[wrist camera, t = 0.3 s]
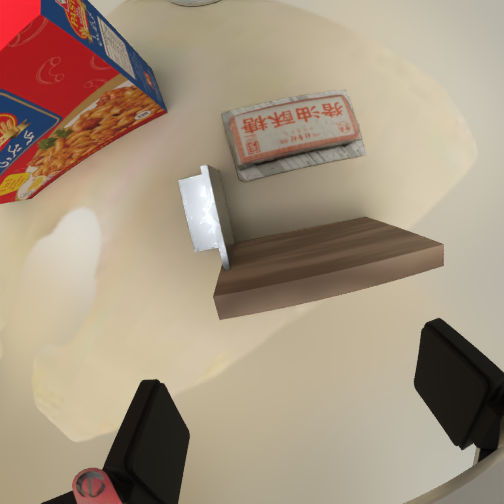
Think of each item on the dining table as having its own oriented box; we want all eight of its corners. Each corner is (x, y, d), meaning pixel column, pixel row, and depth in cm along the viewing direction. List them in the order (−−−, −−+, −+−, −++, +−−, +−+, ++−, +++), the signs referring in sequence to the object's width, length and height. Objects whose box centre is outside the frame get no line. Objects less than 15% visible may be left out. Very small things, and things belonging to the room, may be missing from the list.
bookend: (178, 180, 36) (149, 179, 24) (219, 170, 36) (206, 164, 24) (195, 251, 38) (174, 280, 27) (235, 243, 38) (230, 269, 26)
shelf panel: (227, 244, 38) (213, 296, 21) (366, 216, 37) (443, 244, 20) (231, 258, 39) (219, 319, 21) (367, 230, 38) (443, 265, 20)
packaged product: (239, 183, 32) (217, 106, 30) (240, 183, 37) (221, 115, 34) (377, 153, 31) (356, 81, 29) (363, 155, 36) (344, 91, 33)
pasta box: (31, 198, 35) (-100, 229, 8) (21, 158, 34) (-104, 166, 6) (167, 112, 33) (40, 14, 6) (151, 69, 32) (44, -42, 4)
